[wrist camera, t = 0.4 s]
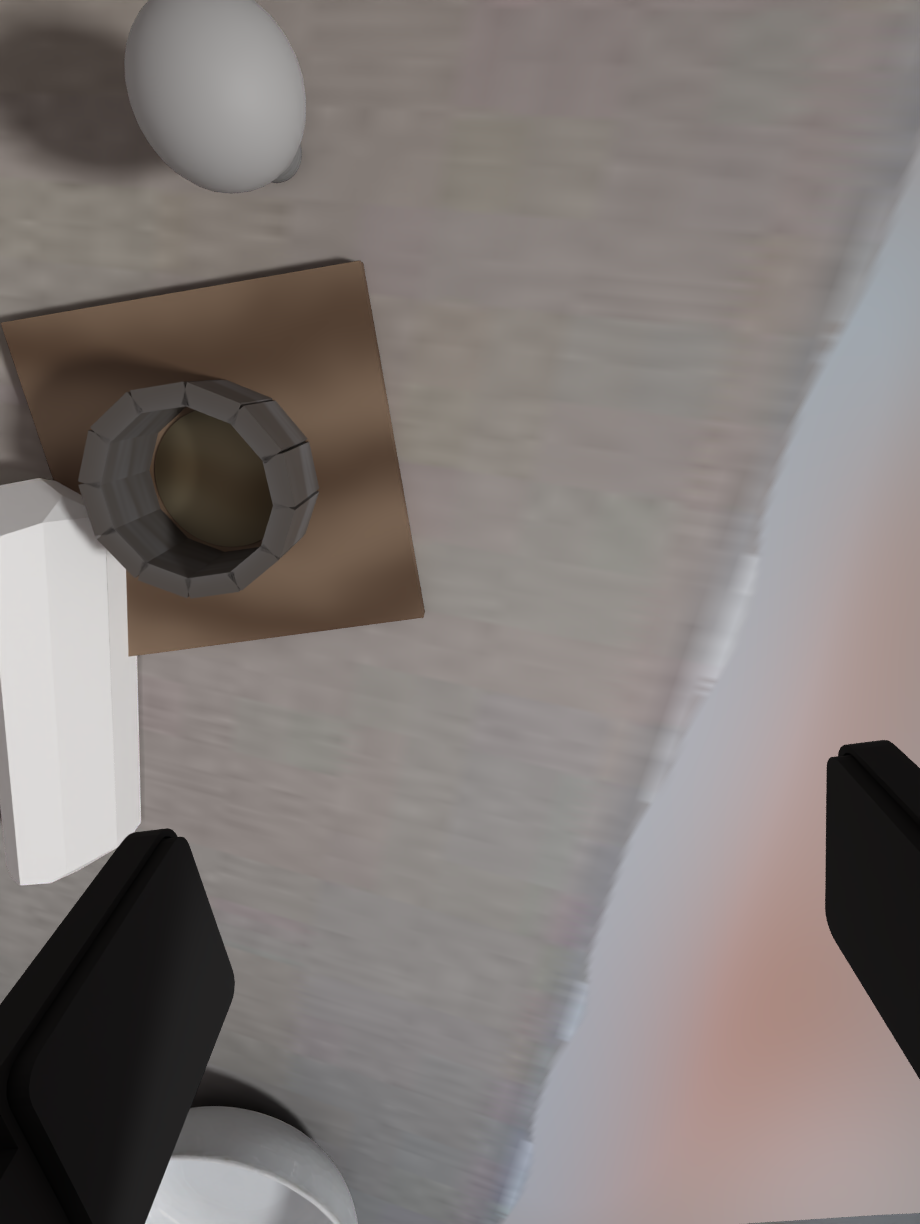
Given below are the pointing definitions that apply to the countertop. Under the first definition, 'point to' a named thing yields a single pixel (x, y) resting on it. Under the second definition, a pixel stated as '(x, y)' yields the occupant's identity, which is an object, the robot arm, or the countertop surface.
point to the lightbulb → (217, 92)
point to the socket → (230, 455)
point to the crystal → (63, 688)
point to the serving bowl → (248, 1174)
